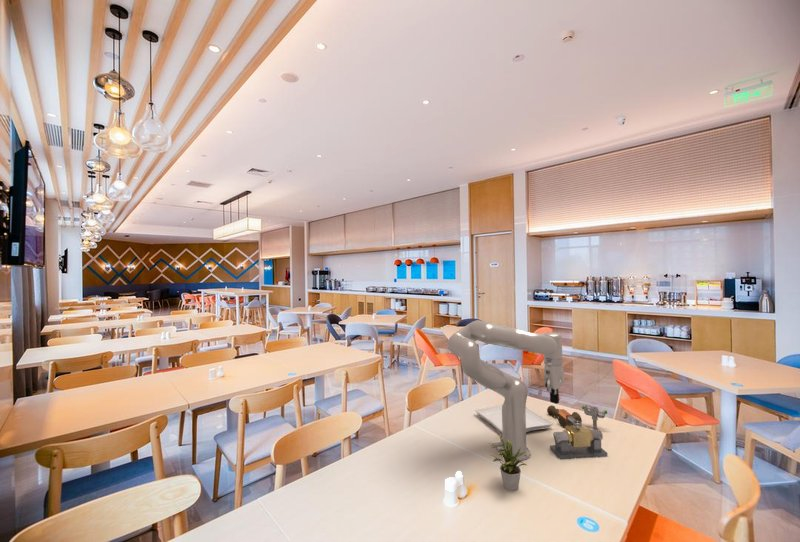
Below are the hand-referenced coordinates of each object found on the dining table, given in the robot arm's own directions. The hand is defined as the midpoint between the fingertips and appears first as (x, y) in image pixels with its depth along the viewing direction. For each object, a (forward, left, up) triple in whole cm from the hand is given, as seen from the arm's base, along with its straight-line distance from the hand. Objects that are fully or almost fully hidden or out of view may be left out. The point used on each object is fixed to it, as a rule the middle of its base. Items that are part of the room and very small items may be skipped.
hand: (554, 402), depth 149 cm
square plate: (-11, +22, -19) cm, 31 cm away
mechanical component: (+25, +11, -18) cm, 33 cm away
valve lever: (+5, -3, -7) cm, 9 cm away
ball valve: (+5, -8, -18) cm, 21 cm away
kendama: (+15, +19, -19) cm, 30 cm away
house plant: (-32, -25, -18) cm, 45 cm away
